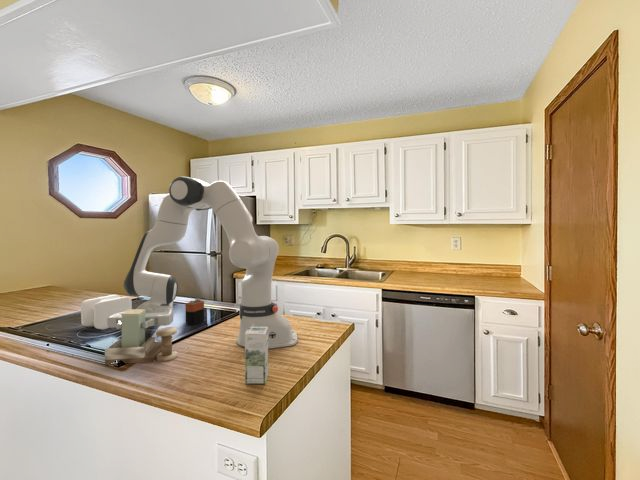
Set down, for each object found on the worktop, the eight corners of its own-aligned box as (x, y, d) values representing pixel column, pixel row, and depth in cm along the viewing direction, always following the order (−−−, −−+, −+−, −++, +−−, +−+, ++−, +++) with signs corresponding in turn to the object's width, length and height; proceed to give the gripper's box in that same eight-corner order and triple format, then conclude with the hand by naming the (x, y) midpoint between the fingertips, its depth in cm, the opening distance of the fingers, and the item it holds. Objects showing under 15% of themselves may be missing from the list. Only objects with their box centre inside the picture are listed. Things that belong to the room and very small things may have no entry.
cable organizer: (94, 332, 121) (93, 303, 121) (80, 328, 126) (79, 300, 126) (132, 322, 134) (131, 295, 134) (119, 318, 140) (118, 293, 139)
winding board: (168, 345, 109) (167, 333, 109) (153, 361, 97) (153, 348, 96) (125, 347, 107) (125, 334, 107) (105, 364, 95) (104, 350, 94)
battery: (204, 320, 137) (204, 298, 136) (192, 325, 131) (192, 302, 130) (197, 319, 139) (197, 297, 138) (185, 323, 132) (184, 301, 132)
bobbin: (179, 352, 103) (179, 326, 103) (173, 360, 97) (173, 333, 97) (160, 353, 102) (160, 327, 102) (153, 361, 97) (152, 334, 96)
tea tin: (145, 347, 104) (145, 309, 103) (138, 353, 99) (138, 313, 98) (128, 347, 103) (129, 309, 103) (120, 353, 98) (121, 313, 98)
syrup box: (268, 374, 89) (268, 325, 89) (265, 385, 84) (265, 333, 83) (248, 374, 89) (248, 325, 88) (244, 385, 83) (244, 333, 82)
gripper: (118, 306, 112) (96, 318, 98) (177, 304, 115) (163, 315, 101) (118, 323, 112) (96, 337, 99) (177, 321, 115) (164, 334, 101)
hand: (131, 326), depth 100 cm, fingers open, 6 cm apart
